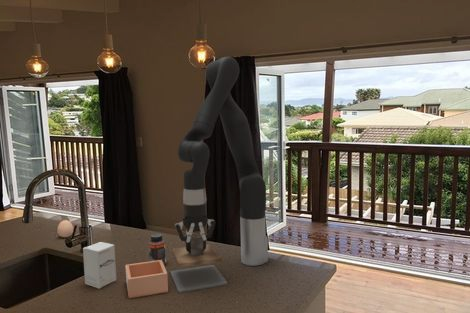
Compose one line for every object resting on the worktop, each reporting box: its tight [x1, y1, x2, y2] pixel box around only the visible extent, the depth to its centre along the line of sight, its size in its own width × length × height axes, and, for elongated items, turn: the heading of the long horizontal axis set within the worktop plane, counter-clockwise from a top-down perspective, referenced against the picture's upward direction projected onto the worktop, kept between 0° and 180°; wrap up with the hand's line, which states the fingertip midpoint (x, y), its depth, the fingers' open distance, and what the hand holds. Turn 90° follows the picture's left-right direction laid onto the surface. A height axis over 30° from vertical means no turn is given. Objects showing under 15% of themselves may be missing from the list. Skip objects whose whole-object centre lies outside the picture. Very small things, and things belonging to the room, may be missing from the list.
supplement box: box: [82, 241, 117, 290], centre depth 131 cm, size 7×7×13 cm
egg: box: [57, 219, 74, 238], centre depth 179 cm, size 7×7×8 cm
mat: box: [169, 264, 228, 294], centre depth 133 cm, size 16×16×1 cm
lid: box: [171, 236, 223, 268], centre depth 132 cm, size 14×14×6 cm
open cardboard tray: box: [125, 260, 169, 299], centre depth 127 cm, size 12×12×6 cm
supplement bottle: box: [148, 233, 167, 266], centre depth 145 cm, size 6×6×11 cm
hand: (195, 251), depth 132 cm, fingers closed on lid, 4 cm apart
